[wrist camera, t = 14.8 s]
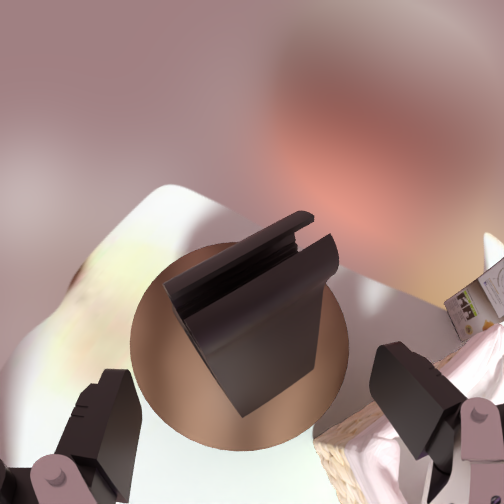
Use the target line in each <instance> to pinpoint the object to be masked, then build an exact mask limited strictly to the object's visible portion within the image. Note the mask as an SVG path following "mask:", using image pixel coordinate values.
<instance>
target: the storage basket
mask: <svg viewBox="0 0 504 504" xmlns="http://www.w3.org/2000/svg"><path fill="white" fill-rule="evenodd" d="M433 365H434V366H435V368H437V369H438V370H439V371H440V372H441V373H442V375H444V376H445V377H446V378H447V379H448V380H449V381H450V382H451V383H452V384H453V385H454V386H455V387H456V388H458V389H459V390H460V391H461V392H462V393H463V394H464V395H465V396H466V397H467V398H468V399H469V398H473V397H481V398H485V399H488V400H490V401H491V402H493V403H494V404H495V405H499V404H503V403H504V327H503V326H502V325H501V324H494V325H493V326H491V327H490V328H488V329H487V330H485V331H483V332H480V333H477V334H476V335H474V336H473V337H471V338H470V339H469V340H468V341H467V343H466V344H465V345H464V346H463V347H462V348H460V349H459V350H458V351H457V352H454V353H452V354H450V355H448V356H447V357H446V358H444V359H443V360H440V361H438V362H436V363H434V364H433ZM313 444H314V448H315V449H316V451H317V452H316V453H318V455H319V457H320V459H321V464H322V466H323V468H324V469H325V470H326V472H327V475H328V478H329V480H330V483H331V484H332V485H333V487H334V488H335V489H336V493H337V497H338V499H339V501H340V503H341V504H421V502H422V497H423V492H424V487H425V482H426V476H427V470H428V464H429V462H430V460H431V457H430V456H429V455H427V456H425V457H423V458H421V459H419V460H417V461H416V460H415V458H414V457H413V455H412V454H411V452H410V451H409V449H408V448H407V446H406V445H405V444H404V442H403V441H402V439H401V438H400V436H399V435H398V433H397V432H396V430H395V429H394V428H393V426H392V425H391V423H390V422H389V420H388V419H387V417H386V416H385V415H384V413H383V412H382V410H381V409H380V407H379V406H378V404H377V403H376V402H375V400H374V401H373V402H371V403H370V404H368V405H367V406H366V407H364V408H363V409H362V410H360V411H359V412H357V413H355V414H353V415H352V416H350V417H349V418H347V419H346V420H344V421H343V422H342V423H340V424H337V425H335V426H333V427H331V428H330V429H328V430H327V431H326V432H324V433H323V434H322V435H320V436H318V437H316V438H315V439H314V440H313Z"/></svg>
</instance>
